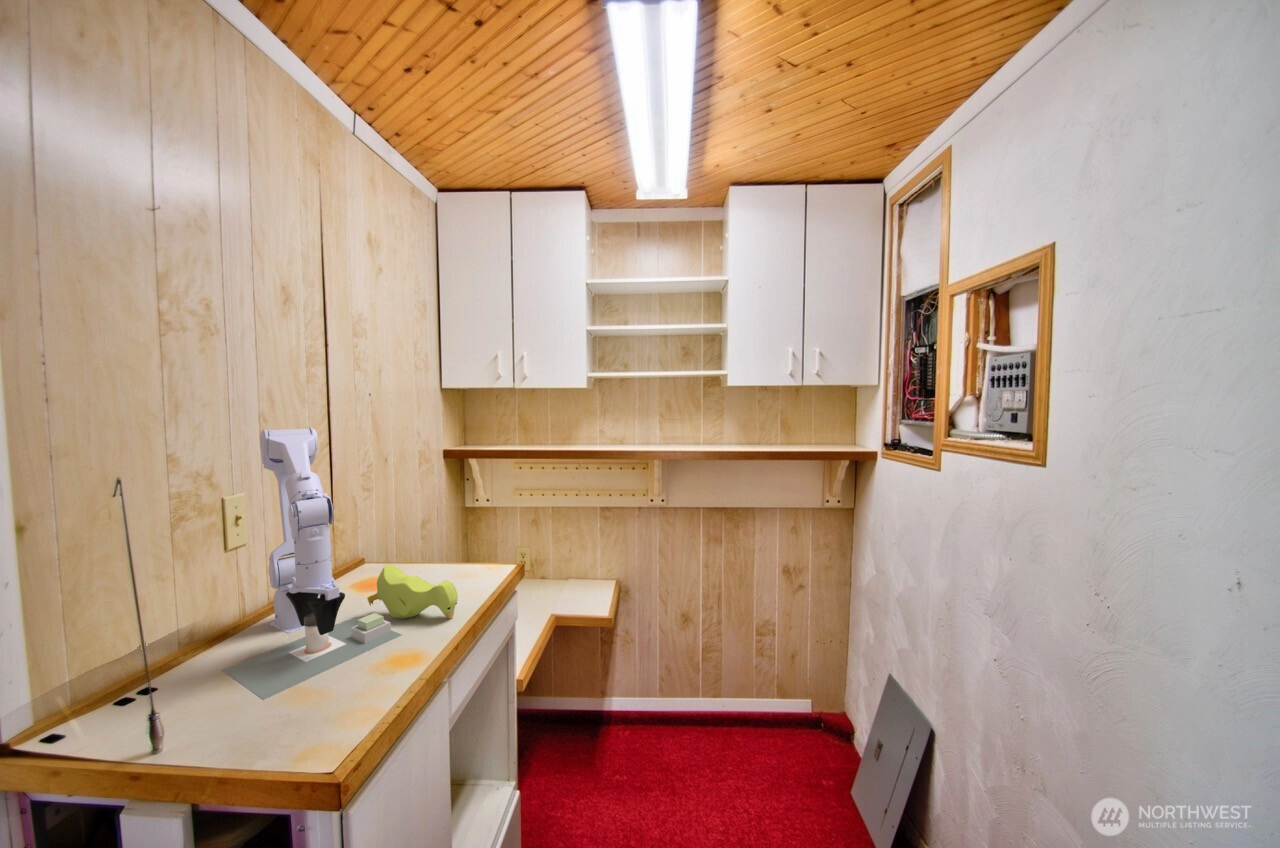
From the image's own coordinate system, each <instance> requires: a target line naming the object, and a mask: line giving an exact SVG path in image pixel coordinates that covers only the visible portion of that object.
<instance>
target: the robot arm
mask: <svg viewBox="0 0 1280 848" xmlns="http://www.w3.org/2000/svg"><path fill="white" fill-rule="evenodd" d="M318 441H319V440H318V432H317V431H316V430H315V428H313V427H308V428H290V429H289V428H287V429H267V428H266V429H262V431H261V432H260V434H259V447H260V455H261V463H262V465H263V469H267V470H269V471H273V473H274V475H275V477H276V481H277V487H278V497H279V499H278V500H279V505H280V506H279V507H280V509H279V510H280V519H281V528H282V538H283V542H282V543H280V545H278V546H277V547H276V548H275V549H273V550H272V551H271V552H270V555H269V557H268V562H269V564H268V576H269V577H268V578H269V583H270V587H271V588H273V589H274V590H276V591H275V592H274V593H273V594H274V595H273V607H274V608H273V610H274V621H272V622H270V623H269V625H270V626H272V627H275V628H276V629H279V630H280V631H282V632H284V633H286V634H291V633H294V632H297V631H299V630H301V629H305V626H304V616H306V615H307V614H310V613H312V612H313V613H314V615H315V618H316V623H317V628H318V631H319V634H320V635H324V634H326V633H329V632H331V631H333V629H334V625H336V621H337V620H336V619H337V616H338V612H339V610H340V607H341V604H342V603H343V601H344V600H345V598H346V594H345V593H344V592H341V591H340V587H339V586H338V585H336V581H335V578H334V577H333V564H332V546H331V545H332V544H331V543H332V542H331V525H333V521H334V506H333V503H332V499H331V496H330V495H328V493H326V492H324V489H323V486H322V481H321V479H320V476H319V475H318V474H317V473H315V472H313V471H311V466H312V465H313V464H314V460H315V459H316V455H317V451H318V448H319V442H318Z"/></svg>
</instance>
